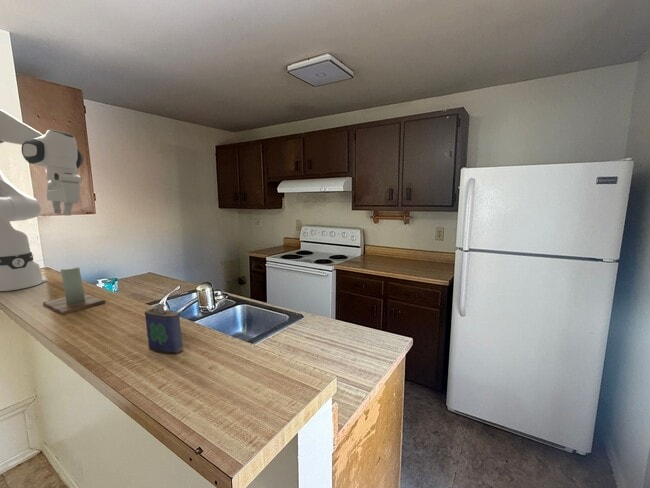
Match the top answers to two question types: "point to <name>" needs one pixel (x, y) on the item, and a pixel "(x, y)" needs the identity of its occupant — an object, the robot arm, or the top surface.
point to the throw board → (64, 308)
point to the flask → (163, 330)
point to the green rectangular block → (72, 285)
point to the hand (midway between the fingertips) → (62, 214)
